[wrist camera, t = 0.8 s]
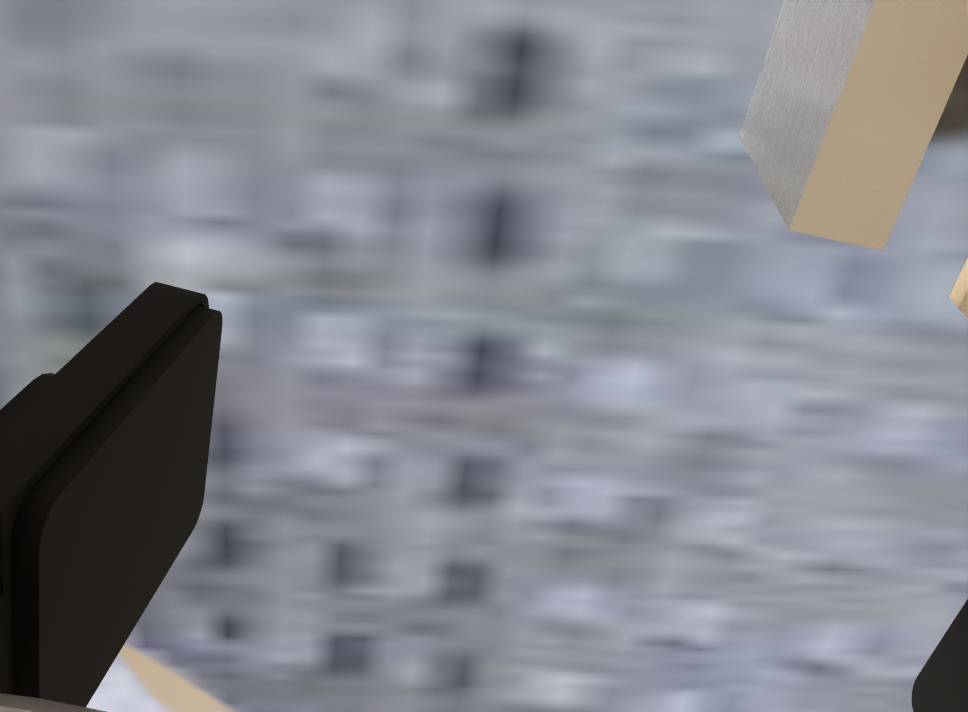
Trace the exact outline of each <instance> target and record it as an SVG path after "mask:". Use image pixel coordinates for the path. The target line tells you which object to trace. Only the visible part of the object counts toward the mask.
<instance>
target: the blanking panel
mask: <svg viewBox="0 0 968 712" xmlns="http://www.w3.org/2000/svg"><path fill="white" fill-rule="evenodd" d="M967 55H968V0H784V3H783V6H782V9H781V12H780V15H779V18H778V21H777V24H776V27H775V30H774V33H773V36H772V39H771V42H770V45H769V48H768V51H767V54H766V57H765V60H764V63H763V67H762V70H761V73H760V76H759V79H758V82H757V85H756V88H755V91H754V94H753V97H752V100H751V103H750V106H749V109H748V112H747V115H746V118H745V121H744V124H743V127H742V130H741V133H740V136H739V137H740V139H741V141H742V143H743V145H744V147H745V149H746V150H747V152H748V154H749V156H750V158H751V160H752V162H753V163H754V165H755V167H756V169H757V171H758V173H759V175H760V176H761V178H762V180H763V182H764V184H765V186H766V188H767V189H768V191H769V193H770V195H771V197H772V199H773V201H774V203H775V204H776V206H777V208H778V210H779V212H780V214H781V216H782V217H783V219H784V221H785V223H786V225H787V227H788V229H789V230H793V231H797V232H802V233H806V234H811V235H815V236H820V237H824V238H829V239H833V240H838V241H842V242H847V243H851V244H856V245H860V246H865V247H869V248H874V249H878V250H883V249H884V247H885V244H886V242H887V240H888V238H889V235H890V233H891V231H892V228H893V226H894V224H895V221H896V219H897V217H898V214H899V212H900V210H901V207H902V205H903V203H904V201H905V198H906V196H907V194H908V191H909V189H910V187H911V184H912V182H913V180H914V177H915V175H916V173H917V170H918V168H919V166H920V164H921V161H922V159H923V157H924V154H925V152H926V150H927V147H928V145H929V143H930V140H931V138H932V136H933V133H934V131H935V129H936V127H937V124H938V122H939V120H940V117H941V115H942V113H943V110H944V108H945V106H946V103H947V101H948V99H949V96H950V94H951V92H952V90H953V87H954V85H955V83H956V80H957V78H958V76H959V73H960V71H961V69H962V66H963V64H964V62H965V60H966V57H967Z"/></svg>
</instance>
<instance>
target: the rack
mask: <svg viewBox="0 0 968 712" xmlns="http://www.w3.org/2000/svg"><path fill="white" fill-rule="evenodd" d="M949 297H950V298H951V300H952V301H953V302H954V303H955V304H956V306H957V307H958V308H959V309H960V311H961V312H962V313H963V314H964V315H965V317H966V318H967V319H968V258H967V260H966V262H965V264H964V266H963V269H962V271H961V273H960V275H959V277H958V279H957V281H956V283H955V285H954V287H953V289H952V291H951V293H950V296H949Z"/></svg>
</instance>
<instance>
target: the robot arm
mask: <svg viewBox="0 0 968 712" xmlns="http://www.w3.org/2000/svg"><path fill="white" fill-rule="evenodd" d="M221 332H222V314H221V312H220V311H217V310H213V309H209V303H208V298H207V296H206V295H205V294H201V293H197V292H194V291H190V290H186V289H182V288H178V287H174V286H170V285H166V284H162V283H158V282H155V283H153V284H151V285H150V286H149V287H148V288H147V289H146V290H145V291H144V292H142V293H141V294H140V295H139V296H138V297H137V298H136V299H135V300H134V301H133V302H132V303H131V304H130V305H129V306H128V307H126V308H125V309H124V310H123V311H122V312H121V313H120V314H119V315H118V316H117V317H116V318H115V319H114V320H113V321H112V322H111V323H109V324H108V325H107V326H106V327H105V328H104V329H103V330H102V331H101V332H100V333H99V334H98V335H97V336H96V337H95V338H93V339H92V340H91V341H90V342H89V343H88V344H87V345H86V346H85V347H84V348H83V349H82V350H81V351H80V352H79V353H78V354H76V355H75V356H74V357H73V358H72V359H71V360H70V361H69V362H68V363H67V364H66V365H65V366H64V367H63V368H62V369H60V370H59V371H58V372H57V373H56V374H52V373H48V374H42V375H40V376H39V377H37V378H36V379H34V380H33V381H32V382H31V383H29V384H28V385H27V386H26V387H25V388H24V389H23V390H22V391H21V392H20V393H18V394H17V395H16V396H15V397H14V398H13V399H12V400H11V401H10V402H9V403H7V404H6V405H5V406H4V407H3V408H2V409H1V410H0V712H106V711H101V710H96V709H91V708H86V706H87V704H88V703H89V701H90V699H91V698H92V696H93V694H94V693H95V691H96V690H97V688H98V686H99V685H100V683H101V681H102V680H103V678H104V676H105V675H106V673H107V671H108V670H109V668H110V666H111V665H112V663H113V661H114V660H115V658H116V656H117V655H118V653H119V652H120V650H121V648H122V647H123V645H124V643H125V642H126V640H127V638H128V637H129V635H130V633H131V632H132V630H133V628H134V627H135V625H136V623H137V622H138V620H139V619H140V617H141V615H142V614H143V612H144V610H145V609H146V607H147V605H148V604H149V602H150V600H151V599H152V597H153V595H154V594H155V592H156V590H157V589H158V587H159V586H160V584H161V582H162V581H163V579H164V577H165V576H166V574H167V572H168V571H169V569H170V567H171V566H172V564H173V562H174V561H175V559H176V557H177V556H178V554H179V552H180V551H181V549H182V548H183V546H184V544H185V543H186V541H187V539H188V538H189V536H190V534H191V533H192V531H193V529H194V527H195V525H196V523H197V520H198V518H199V515H200V512H201V508H202V504H203V499H204V491H205V482H206V472H207V463H208V454H209V444H210V435H211V426H212V416H213V407H214V398H215V388H216V379H217V369H218V360H219V351H220V341H221ZM912 707H913V711H914V712H968V599H967V601H966V602H965V604H964V606H963V607H962V609H961V610H960V612H959V613H958V615H957V616H956V618H955V619H954V621H953V622H952V624H951V626H950V627H949V629H948V630H947V632H946V633H945V635H944V636H943V638H942V639H941V641H940V643H939V644H938V646H937V647H936V649H935V650H934V652H933V653H932V655H931V656H930V658H929V659H928V661H927V663H926V664H925V666H924V667H923V669H922V670H921V672H920V673H919V675H918V676H917V678H916V680H915V683H914V686H913V690H912Z"/></svg>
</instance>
